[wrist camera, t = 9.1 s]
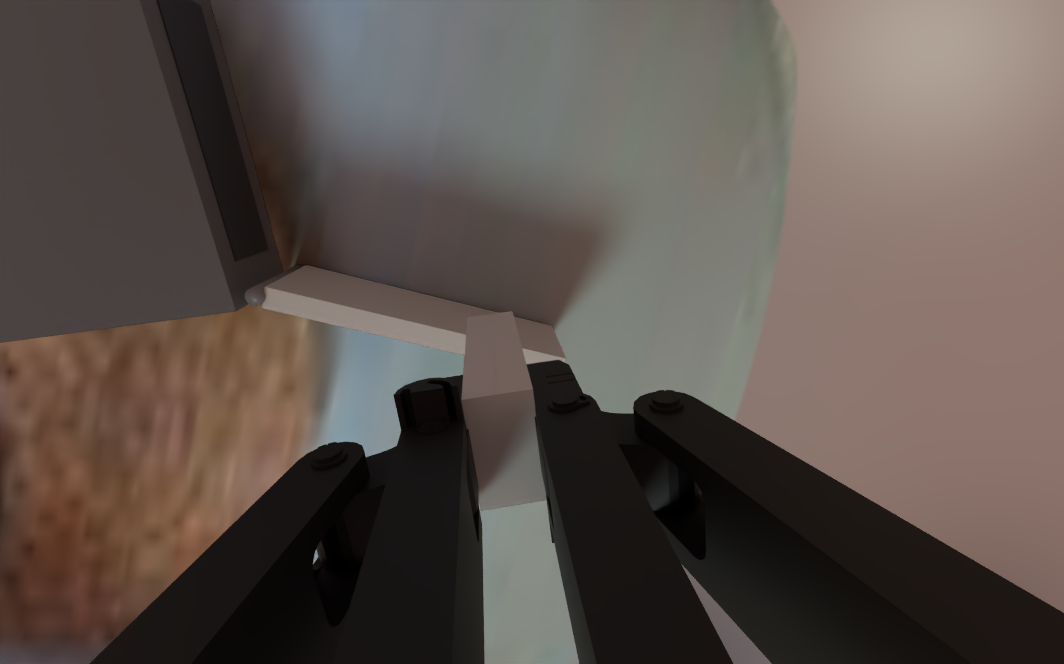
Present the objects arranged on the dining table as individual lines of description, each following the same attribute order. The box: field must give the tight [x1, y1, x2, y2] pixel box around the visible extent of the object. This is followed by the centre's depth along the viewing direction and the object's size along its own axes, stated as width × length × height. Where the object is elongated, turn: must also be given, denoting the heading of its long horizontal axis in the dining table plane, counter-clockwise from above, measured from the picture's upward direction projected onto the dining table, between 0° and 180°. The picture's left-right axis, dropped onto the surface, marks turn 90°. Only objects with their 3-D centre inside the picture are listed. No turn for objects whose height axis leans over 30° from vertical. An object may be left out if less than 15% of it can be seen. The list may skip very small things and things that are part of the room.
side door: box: [245, 265, 566, 364], centre depth 26 cm, size 15×1×6 cm, turn 74°
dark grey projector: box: [0, 0, 283, 343], centre depth 22 cm, size 20×12×7 cm, turn 7°
